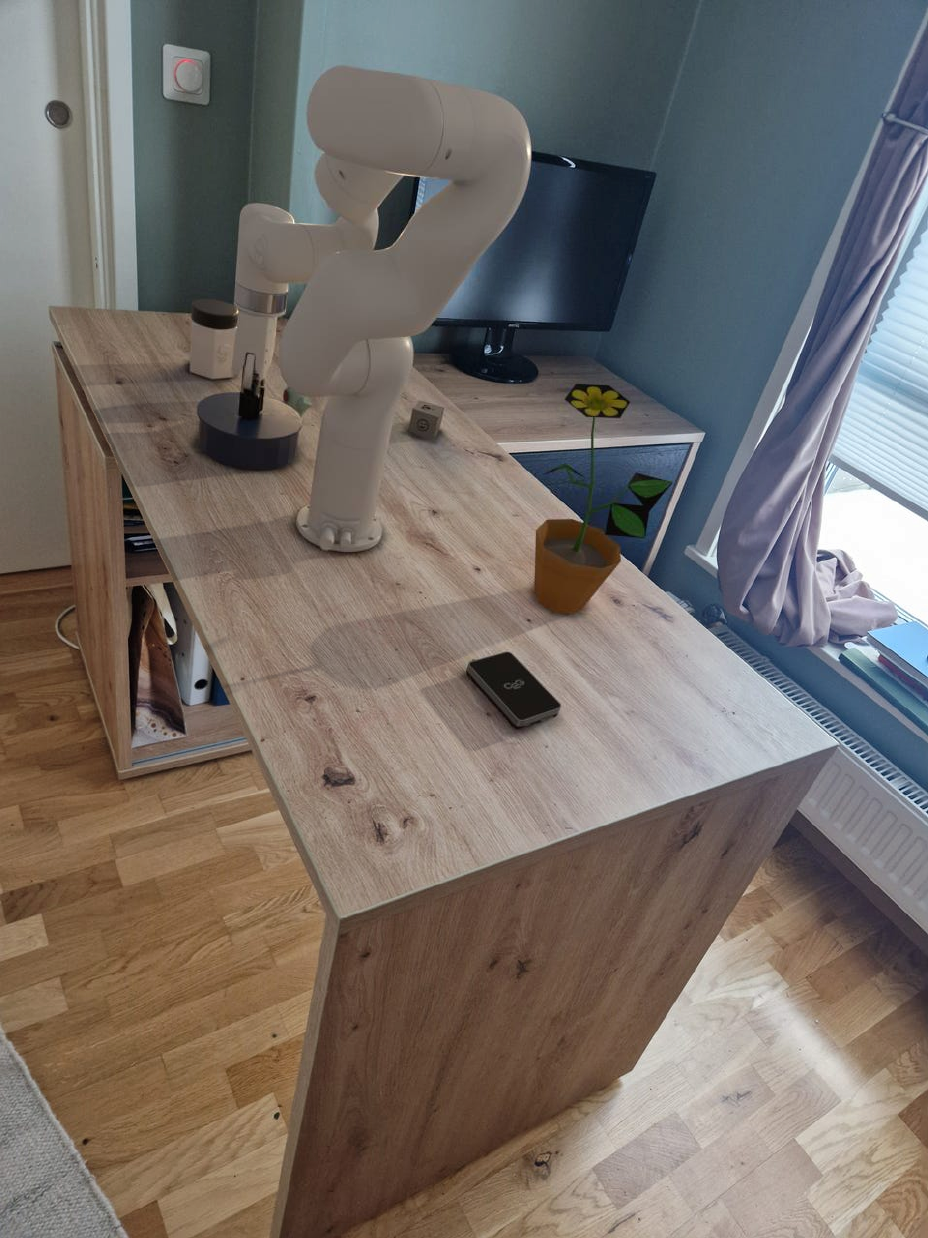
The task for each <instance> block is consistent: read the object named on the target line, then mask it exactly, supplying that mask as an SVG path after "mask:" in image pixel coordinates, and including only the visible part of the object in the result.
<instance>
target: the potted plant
mask: <svg viewBox="0 0 928 1238" xmlns="http://www.w3.org/2000/svg"><path fill="white" fill-rule="evenodd" d="M564 401H566V402H567V403H568V404H569V405H571V406H572V407H573V408H574V409H576V410H577V411H578V412H579V413H581V414H582V415H583V416H584V417H585V418H592V424H591V433H590V483H585V482H584V481H586V479H587V477H586V476H585V475H583V474H582V473H580V472H578V471H577V470H575V469H574V468H572V466H570V465H568V464H566V463H563V464H561V465H558V466H556V467H554V468H553V469H551V470H549V471H546V472H544V473H542V474H541V475H542V476H543V475H546V474H550V473H553V472H557V471H561V470H564V469H565V470H566V472H567V475H568V477H569V479H570V481H564V482H556V483H550V484H548V486H557V485H563V484H569V483H572V484H573V485H577V486H579V487H580V486H581V487H584V488H588V489H589V492H588V500H587V507H586V512H585V516H584V517H583V518H584V519H583V521H579V520H576V519H573V518H561V519H560V518H559V519H558V518H556V519H555V518H553V519H546V520H545V521H543V523H542V524H541V525H540V526H539V527H537V529H535V548H534V549H535V550H534V578H533V581H534V585H533V594H534V596H535V597H536V600H537V602H538V604H539V605H541V606H542V607H544V608H546V609H548V610H549V611H551V612H553V613H558V614H564V615H570V616H571V615H573V614H575V613H578V612H580V611H582V610H583V609H584V608H585V606H586V605H587V603H589V601H590V600H591V599H592V597H593V596H594V595H595V594H596V593H597V591H598V590H599V589H600V588H601V586H602V585H603V584H604V583H605V581H606V580H607V579H608V578H609V577H610V575H611V574H612V573H613V572H614V570H615V569H616V568H617V566H618V565H619V564H620V563H621V562H622V556H621V545H620V544H619V543H618V542H616V541H615V539H613V538H612V537H611V536H614V537H626V538H635V539H636V538H637V539H646V535H647V529H648V523H649V516H650V511H651V510H652V509H653V508H654V506H655V505H656V504H657V503H658V502H659V500H661V498H662V496H663V495H664V494H665V493H666V492H667V491H668V489H669V488H670V487H671V486H672V484H673V483H674V482H673V481H670V480H667V479H663V478H658V477H655V476H651V475H648V474H644V473H640V472H637V471H636V472H635V473H634V474H633V476H632V477H631V479H630V481H629V482H628V483H627V487H625V489H623V490H622V491H621V492H620V493H619V494H618V495H617V496H616V497H615V498H614V499H613V500H612V501H610V502H607V503H605V504H603V505H600V506H597V507H595V508H593V509H592V501H593V492H594V483H595V461H594V460H595V451H594V449H595V448H594V442H595V441H594V440H595V439H594V438H595V437H594V434H595V433H594V431H595V423H596V418H606V419H621V417H622V416H623V415H624V413H625V411H626V409H627V408H628V407H629V405H630V404H631V401H630V399H628V398H626V397H625V396H623V395H622V394H621V393H620V392H618V391H617V390H616V389H614V388H613V387H612V386H610V385H609V384H595V383H575V384H574V386H573V387H572V388H571V389H570V391H569V392H568V393H567V395H566V396H565V397H564ZM571 472H573V473H575V474H577V475H579V476H581V477H583V478H586V479H585V480H581V479H580V481H579V480H576V479H575V478H574V476H573V474H572V473H571ZM541 486H542V487H545V486H546V484H544V485H541ZM628 489H629V490H630V491H631V492H632V494H633V495H634V496H635V497H636V499H637V500H638V501H639V502H640V504H632V503H620V502H617V500H618V499H620V497H621V496H622V495H623V494H624V493H625V492H626V491H627V490H628ZM609 506H610V507H609ZM607 507H609V511H608V517H607V520H606V521H607V522H606V527H605V531H603V530H602V529H601V528H598V527H596V526H594V525H590V524H588V519H589V517H590V515H591V514H594V513H596V512H599V511H601V510H602V509H604V508H607Z"/></svg>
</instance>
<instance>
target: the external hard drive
mask: <svg viewBox="0 0 928 1238" xmlns="http://www.w3.org/2000/svg"><path fill="white" fill-rule="evenodd" d="M465 674H466V676H467V677H468V679H469V680H470V681H471V682H472V683H473V684H474V685H475V686H476V687H477V688H478V690H479V691H480V692H481V693H482V694H483V695H484V696H485V698H486V699H487V700H488V701H489V702H490V703H491V704H492V706H493V707H494V708H495V709H496V710H497V711H498V712H499V713H500V714H501V715H502V717H503V718H504V719H505V720H506V721H507V722H508V723H509V725H510V726H511V727H512V728H513V729H514V730H516V731H520V730H523V729H525V728H528V727H531V726H533V725H536V724H540V723H542V722H545V721H547V720H551V719H553V718H556V717H557V716H558V715H559V713H560V710H561V708H562V704H561V703H560V701H559V700H558V699H556V697H555V696H554V695H553V694H552V693H551V692H550V691H549V690H548V689H547V688H546V687H545V686H544V685H543V684H542V683H541V682H540V681H539V679H538V678H537V677H535V676H534V674H533V673H531V671H530V670H529V669H528V668H527V667H526V666H525V665H524V664H523V663H522V662H521V661H520V659H518V658H517V657H516V655H514V654H513V652H511V651H508V650H507V651H503V652H499V653H495V654H492V655H489V656H488V655H487V656H485V657H481V658H477V659H475V660H474V659H473V660H470V661H469V662H468V663H467V667H466V670H465Z"/></svg>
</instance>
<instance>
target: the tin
mask: <svg viewBox="0 0 928 1238" xmlns="http://www.w3.org/2000/svg"><path fill="white" fill-rule="evenodd" d="M198 423H199V424H198V445H199V448H200V449H201V451H202V453H204V455H205V456H207V457H208V458H209V459H211V460H213V461H215V462H217V463H219V464H221V465H224V466H227V467H229V468H234V469H238V470H243V471H253V472H254V471H255V472H266V471H273V470H278V469H282V468H285V467H287V466H288V465H291V463H293V461H295V459H296V454H297V451H298V450H297V449H298V442H299V435H300V431H299V432H298V433H297V434H296V435H294V436H292V437H290V438H287V439H283V440H278V441H250V440H243V439H238V438H234V437H230V436H227V435H224V434H222V433H219V432H217V431H215V430H213V429H211V428H209V427H208V426H206V425H205V424H204V423H203V422H202V421H201V420H200V419H199V421H198Z"/></svg>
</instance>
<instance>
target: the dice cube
mask: <svg viewBox="0 0 928 1238" xmlns="http://www.w3.org/2000/svg"><path fill="white" fill-rule="evenodd" d="M411 409H412V410H411V414H410V418H409V424H408V429H407V432H409V433H412V434H416V435H419V436H422V437H425V438H429V439H432V440H434V439H435V437H436V436H437V434H438V432H439V431H440V429H441V424H442V419H443V415H444V412H445V407H443V406H440V405H438V404H435V403H430V402H427V401H425V400H421V399H418V401H417V402H416V403H415V404H414V406H413V408H411Z"/></svg>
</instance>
